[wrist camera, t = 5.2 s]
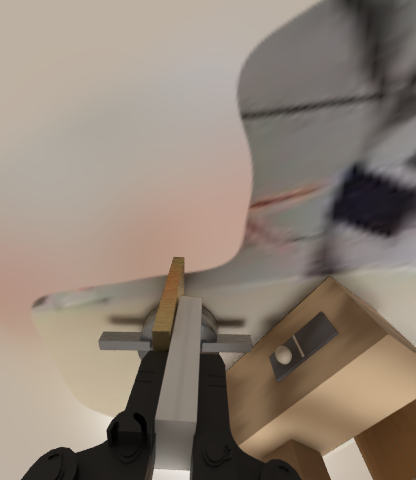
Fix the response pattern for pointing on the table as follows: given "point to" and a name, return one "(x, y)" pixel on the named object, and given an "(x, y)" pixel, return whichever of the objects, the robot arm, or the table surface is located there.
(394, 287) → the table surface
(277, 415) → the wooden drawer box
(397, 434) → the coffee cup
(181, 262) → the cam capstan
